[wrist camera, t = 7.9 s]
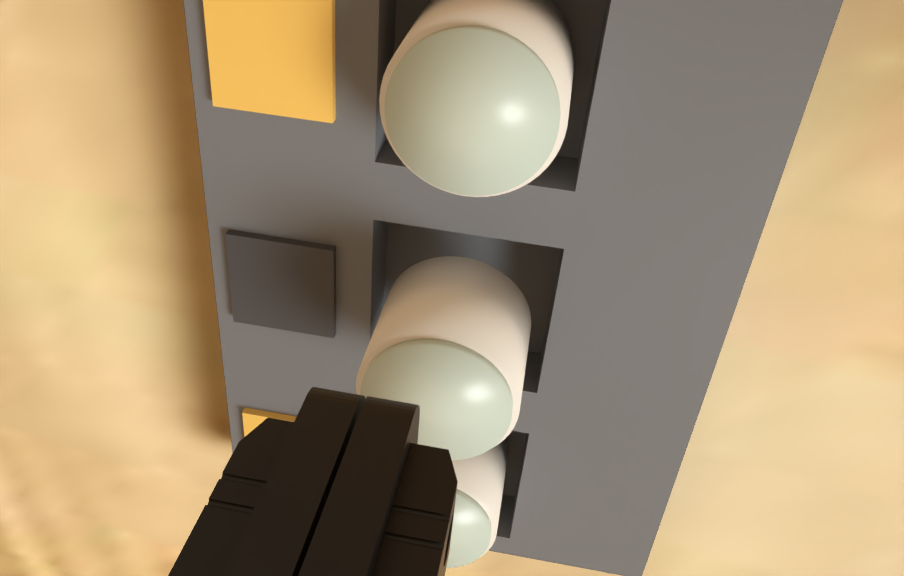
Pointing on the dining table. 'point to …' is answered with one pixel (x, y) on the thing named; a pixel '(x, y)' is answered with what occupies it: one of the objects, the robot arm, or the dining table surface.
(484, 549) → the button
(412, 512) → the robot arm
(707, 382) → the button board
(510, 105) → the button
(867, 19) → the dining table surface
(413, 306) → the button
